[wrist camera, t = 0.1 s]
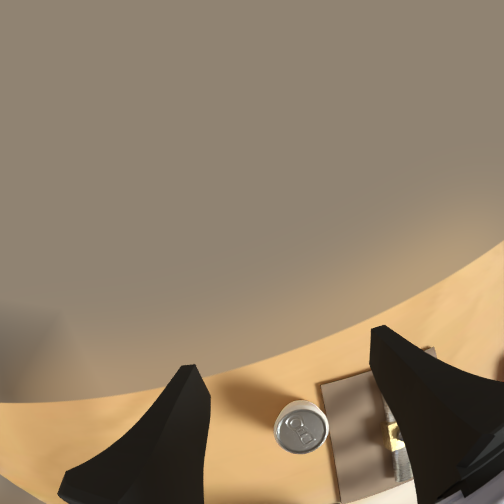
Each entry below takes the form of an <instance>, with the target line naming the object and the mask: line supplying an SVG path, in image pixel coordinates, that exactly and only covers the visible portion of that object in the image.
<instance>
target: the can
mask: <svg viewBox="0 0 504 504" xmlns="http://www.w3.org/2000/svg"><path fill="white" fill-rule="evenodd" d="M328 431H329V424H328V420H327V418H326V416H325V414H324V413H323V412H322V411H321V410H320V409H319V408H318V407H317V406H316V405H315V404H313V403H312V402H309V401H306V400H297V401H293V402H291V403H289V404H288V405H286V406H285V407H284V408H283V410H282V411H281V412H280V414H279V416H278V418H277V419H276V422H275V425H274V437H275V440H276V442H277V443H278V444H279V446H280V447H281V448H283V449H284V450H286V451H288V452H290V453H294V454H306V453H309V452H312V451H314V450H316V449H317V448H319V447H320V446H321V445H322V444H323V443H324V441H325V440H326V438H327V435H328Z"/></svg>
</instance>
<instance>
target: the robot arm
mask: <svg viewBox="0 0 504 504" xmlns="http://www.w3.org/2000/svg"><path fill="white" fill-rule="evenodd" d="M369 365H370V367H371V370H372V373H373V376H374V378H375V381H376V384H377V386H378V388H379V389H380V391H381V393H382V395H383V397H384V399H385V401H386V403H387V405H388V407H389V409H390V411H391V413H392V415H393V417H394V419H395V421H396V423H397V425H398V427H399V430H400V432H401V435H402V438H403V441H404V444H405V447H406V451H407V454H408V458H409V461H410V465H411V469H412V473H413V478H414V483H415V488H416V494H417V502H418V504H504V382H500V381H495V380H491V379H487V378H483V377H480V376H477V375H473V374H470V373H468V372H465V371H462V370H460V369H458V368H455V367H453V366H451V365H449V364H447V363H445V362H443V361H441V360H439V359H437V358H435V357H433V356H432V355H430V354H428V353H426V352H425V351H423V350H421V349H420V348H418V347H417V346H415V345H414V344H412V343H411V342H409V341H408V340H406V339H405V338H403V337H402V336H400V335H399V334H397V333H396V332H394V331H393V330H392V329H390V328H389V327H387V326H386V325H382V326H379V327H375V328H372V329H371V343H370V360H369ZM210 412H211V395H210V393H209V391H208V389H207V387H206V385H205V383H204V381H203V379H202V377H201V376H200V374H199V371H198V369H197V367H196V365H195V364H193V365H183V366H181V367H180V369H179V370H178V371H177V373H176V374H175V375H174V377H173V378H172V379H171V381H170V382H169V384H168V385H167V386H166V388H165V389H164V390H163V392H162V393H161V394H160V396H159V397H158V398H157V400H156V401H155V402H154V403H153V405H152V406H151V407H150V408H149V409H148V411H147V412H146V413H145V414H144V415H143V416H142V418H141V419H140V420H139V421H138V422H137V423H136V424H135V425H134V426H133V427H132V428H131V429H130V430H129V431H128V432H127V433H126V434H125V435H123V436H122V437H121V438H120V439H119V440H117V441H116V442H115V443H114V444H112V445H111V446H110V447H108V448H107V449H106V450H104V451H103V452H101V453H100V454H98V455H97V456H95V457H93V458H92V459H90V460H88V461H87V462H85V463H83V464H81V465H79V466H77V467H74V468H72V469H70V470H68V471H66V472H65V475H64V478H63V480H62V483H61V485H60V488H59V491H58V493H57V494H58V496H59V497H60V498H61V499H63V500H64V501H66V502H67V503H69V504H204V489H203V468H204V457H205V450H206V443H207V437H208V430H209V423H210Z"/></svg>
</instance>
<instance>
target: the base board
mask: <svg viewBox="0 0 504 504" xmlns="http://www.w3.org/2000/svg"><path fill="white" fill-rule="evenodd" d="M425 352H426V353H428V354H430V355H432V356H433V357H435V358H437V356H436V352H435V348H434V347H432V348H430V349H427V350H425ZM320 386H321V391H322V396H323V401H324V406H325V411H326V416H327V420H328V424H329V432H330V438H331V443H332V449H333V455H334V460H335V466H336V473H337V479H338V485H339V492H340V498H341V503H342V504H346V503H349V502H353V501H356V500H360V499H363V498H366V497H369V496H372V495H375V494H378V493H381V492H384V491H386V490H389V489H391V488H394V487H396V486H399V485H401V484H404V483H406V482H408V481H411V480H413V479H414V478H413V477H412V478H410V479H409V480H406V481H403V482H396V481H395V477H394V468H393V460H392V452H391V451H390V450H389V449H387V448H385V447H384V443H383V437H382V431H381V425H380V423H381V422H383V421H386V415H385V410H384V404H383V399H382V394H381V391H380V389H379V388H378V386H377V384H376V381H375V378H374V376H373V373H372V371H369V372H366V373H362V374H359V375H356V376H353V377H349V378H346V379H342V380H339V381H335V382H331V383H327V384H324V385H320Z"/></svg>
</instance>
